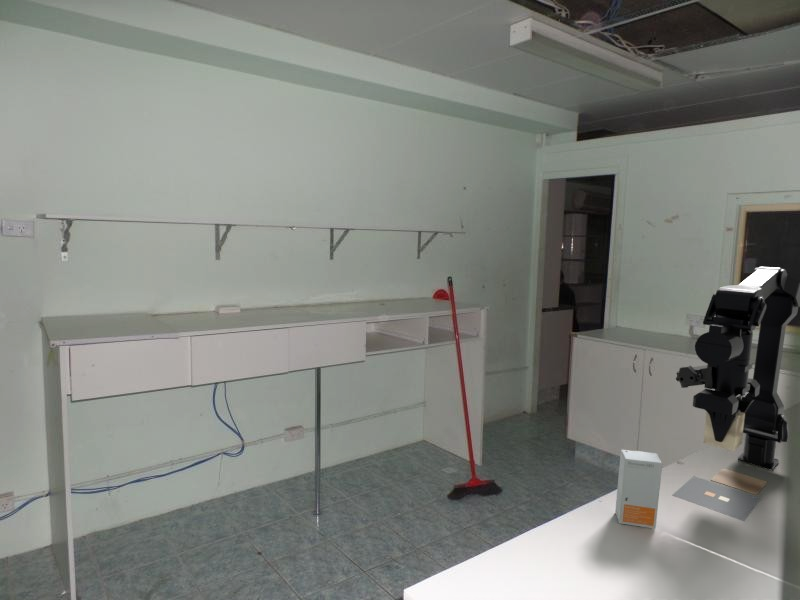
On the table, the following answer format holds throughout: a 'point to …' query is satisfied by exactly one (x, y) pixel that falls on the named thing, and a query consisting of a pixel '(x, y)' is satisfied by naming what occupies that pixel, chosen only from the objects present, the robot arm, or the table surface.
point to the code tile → (718, 497)
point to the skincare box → (638, 488)
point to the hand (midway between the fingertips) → (723, 437)
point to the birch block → (733, 435)
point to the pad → (739, 481)
